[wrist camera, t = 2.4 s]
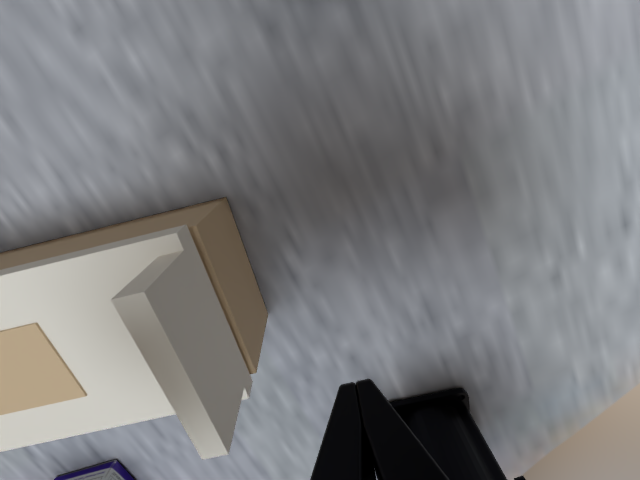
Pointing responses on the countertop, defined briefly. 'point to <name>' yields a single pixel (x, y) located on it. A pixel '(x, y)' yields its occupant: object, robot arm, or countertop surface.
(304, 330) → the countertop surface
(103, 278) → the lid
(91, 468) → the supplement box
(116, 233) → the base
